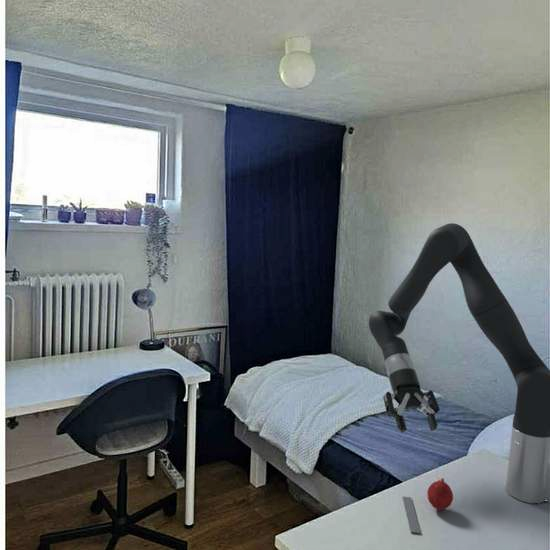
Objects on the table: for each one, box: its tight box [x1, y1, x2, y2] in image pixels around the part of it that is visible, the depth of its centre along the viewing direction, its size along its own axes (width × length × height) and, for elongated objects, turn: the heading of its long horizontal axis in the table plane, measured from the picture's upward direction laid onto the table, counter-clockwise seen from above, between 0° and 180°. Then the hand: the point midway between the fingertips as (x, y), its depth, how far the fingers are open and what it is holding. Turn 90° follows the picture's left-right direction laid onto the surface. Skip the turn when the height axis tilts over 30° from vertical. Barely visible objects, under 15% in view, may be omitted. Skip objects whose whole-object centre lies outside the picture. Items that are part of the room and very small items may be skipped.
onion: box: [426, 476, 454, 511], centre depth 117 cm, size 6×6×8 cm
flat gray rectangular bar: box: [402, 496, 422, 535], centre depth 114 cm, size 2×14×1 cm, turn 173°
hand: (419, 430), depth 127 cm, fingers open, 8 cm apart
